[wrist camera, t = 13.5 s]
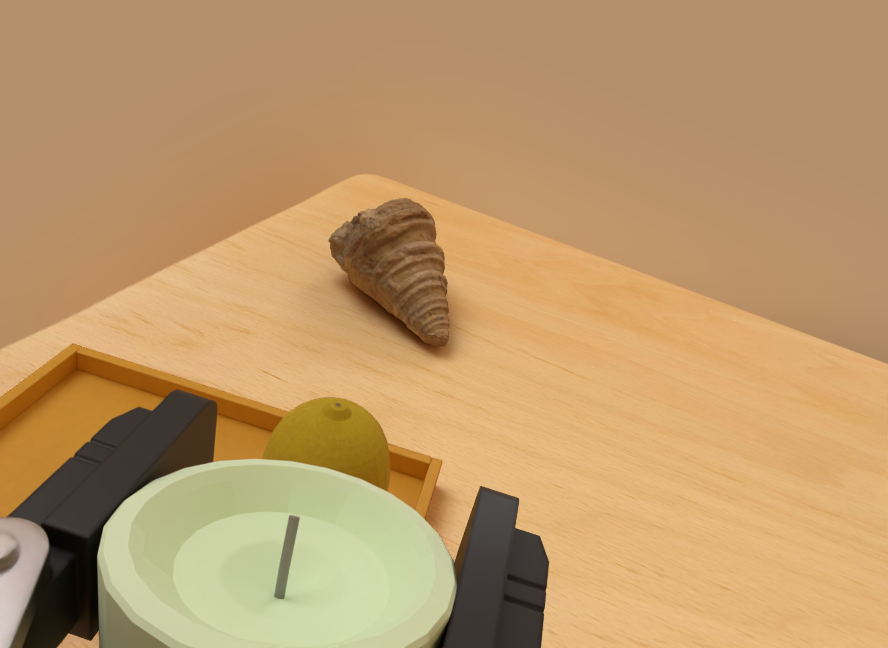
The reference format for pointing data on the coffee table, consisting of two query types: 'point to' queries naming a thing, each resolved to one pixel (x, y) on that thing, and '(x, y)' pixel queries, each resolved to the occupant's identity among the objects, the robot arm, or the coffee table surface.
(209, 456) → the robot arm
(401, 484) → the yellow tray
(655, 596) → the coffee table surface
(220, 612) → the candle
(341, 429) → the lemon
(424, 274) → the seashell
